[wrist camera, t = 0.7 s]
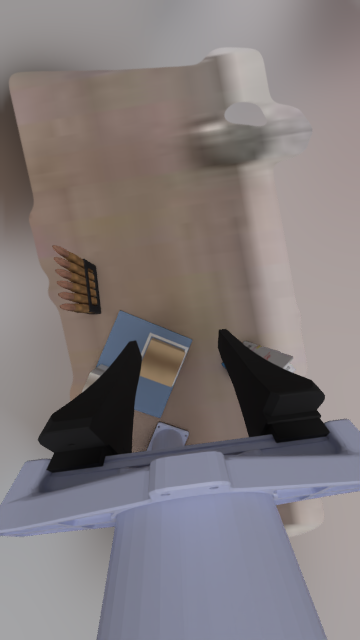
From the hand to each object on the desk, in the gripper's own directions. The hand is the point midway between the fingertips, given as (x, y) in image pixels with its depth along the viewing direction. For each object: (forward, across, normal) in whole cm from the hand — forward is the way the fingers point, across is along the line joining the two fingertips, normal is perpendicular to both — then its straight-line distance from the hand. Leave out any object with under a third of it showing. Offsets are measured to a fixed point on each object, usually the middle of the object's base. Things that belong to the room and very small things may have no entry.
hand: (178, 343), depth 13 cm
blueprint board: (+15, +10, +18) cm, 25 cm away
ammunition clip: (+24, +18, +2) cm, 30 cm away
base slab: (+15, +5, +18) cm, 24 cm away
